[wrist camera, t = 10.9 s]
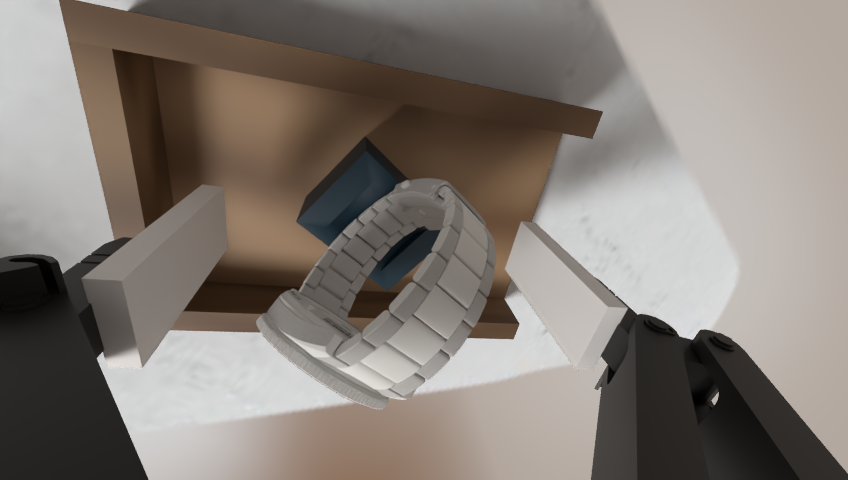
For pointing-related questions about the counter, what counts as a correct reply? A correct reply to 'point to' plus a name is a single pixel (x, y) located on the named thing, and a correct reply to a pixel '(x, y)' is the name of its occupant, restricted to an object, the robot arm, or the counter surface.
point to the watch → (383, 280)
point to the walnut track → (294, 149)
